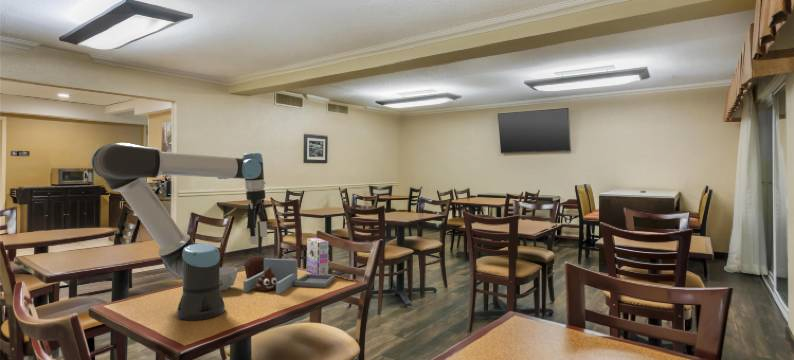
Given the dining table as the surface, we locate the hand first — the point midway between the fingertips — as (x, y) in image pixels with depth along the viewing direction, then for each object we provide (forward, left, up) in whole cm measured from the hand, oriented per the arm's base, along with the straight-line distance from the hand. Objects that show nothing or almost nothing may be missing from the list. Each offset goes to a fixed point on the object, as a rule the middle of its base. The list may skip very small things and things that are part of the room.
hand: (259, 240), depth 178 cm
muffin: (+17, +10, -21) cm, 29 cm away
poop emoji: (0, -4, -21) cm, 21 cm away
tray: (+13, -20, -21) cm, 31 cm away
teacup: (-4, +14, -21) cm, 26 cm away
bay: (+3, -4, -21) cm, 21 cm away
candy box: (+30, -15, -21) cm, 39 cm away
